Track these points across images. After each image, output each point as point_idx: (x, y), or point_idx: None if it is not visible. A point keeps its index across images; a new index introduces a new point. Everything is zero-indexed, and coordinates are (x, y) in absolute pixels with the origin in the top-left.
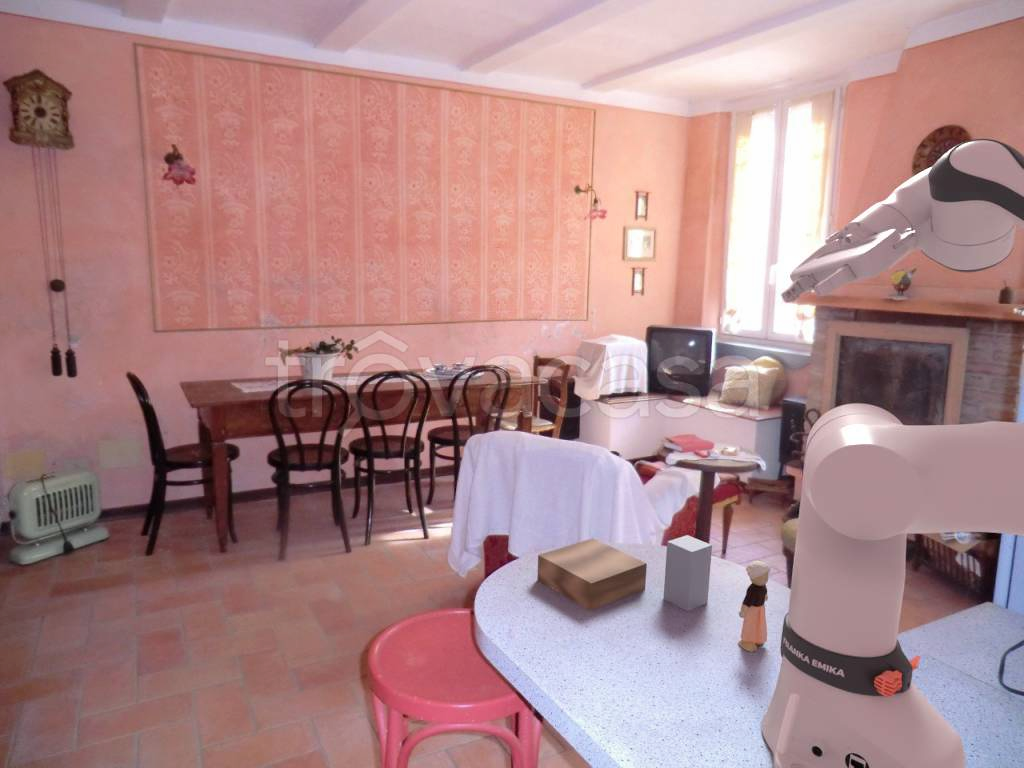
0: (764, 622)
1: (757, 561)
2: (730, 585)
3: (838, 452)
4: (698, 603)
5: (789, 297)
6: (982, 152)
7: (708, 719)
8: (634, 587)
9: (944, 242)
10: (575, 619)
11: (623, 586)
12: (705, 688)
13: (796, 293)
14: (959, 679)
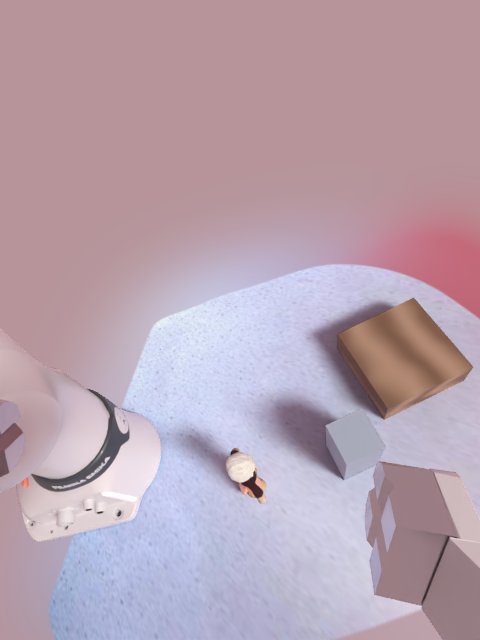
0: (239, 485)
1: (237, 462)
2: None
3: None
4: (335, 462)
5: (375, 497)
6: None
7: (167, 386)
8: (373, 400)
9: None
10: (321, 331)
11: (364, 382)
12: (199, 401)
13: (378, 555)
14: None
